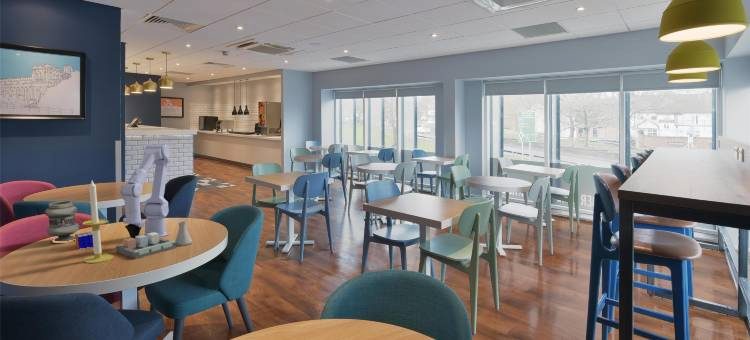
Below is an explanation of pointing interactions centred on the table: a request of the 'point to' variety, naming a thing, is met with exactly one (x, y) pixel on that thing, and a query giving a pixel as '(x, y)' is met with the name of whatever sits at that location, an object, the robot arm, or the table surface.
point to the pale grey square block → (153, 237)
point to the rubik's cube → (84, 240)
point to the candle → (96, 229)
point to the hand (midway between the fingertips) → (134, 240)
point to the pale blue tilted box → (142, 240)
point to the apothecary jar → (62, 220)
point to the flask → (183, 235)
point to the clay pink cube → (129, 243)
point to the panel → (147, 248)
